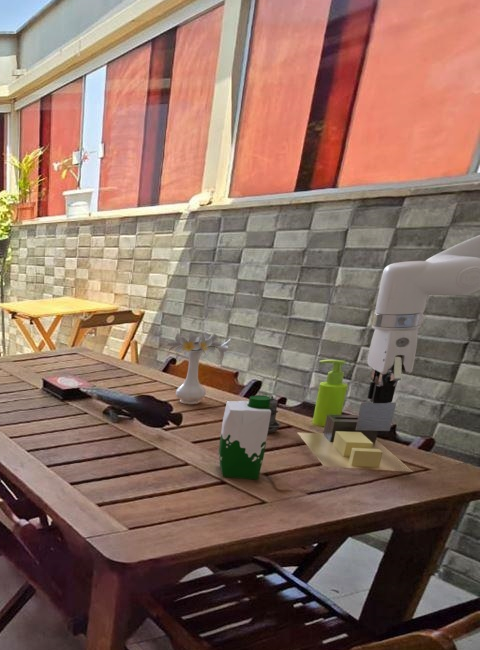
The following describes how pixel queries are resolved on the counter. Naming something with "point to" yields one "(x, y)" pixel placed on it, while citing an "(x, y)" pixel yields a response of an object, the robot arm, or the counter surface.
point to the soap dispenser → (330, 394)
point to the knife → (375, 414)
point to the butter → (350, 442)
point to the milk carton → (244, 437)
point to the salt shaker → (273, 416)
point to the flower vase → (195, 363)
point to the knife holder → (345, 427)
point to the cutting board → (334, 459)
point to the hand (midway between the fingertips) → (379, 399)
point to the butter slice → (365, 457)
